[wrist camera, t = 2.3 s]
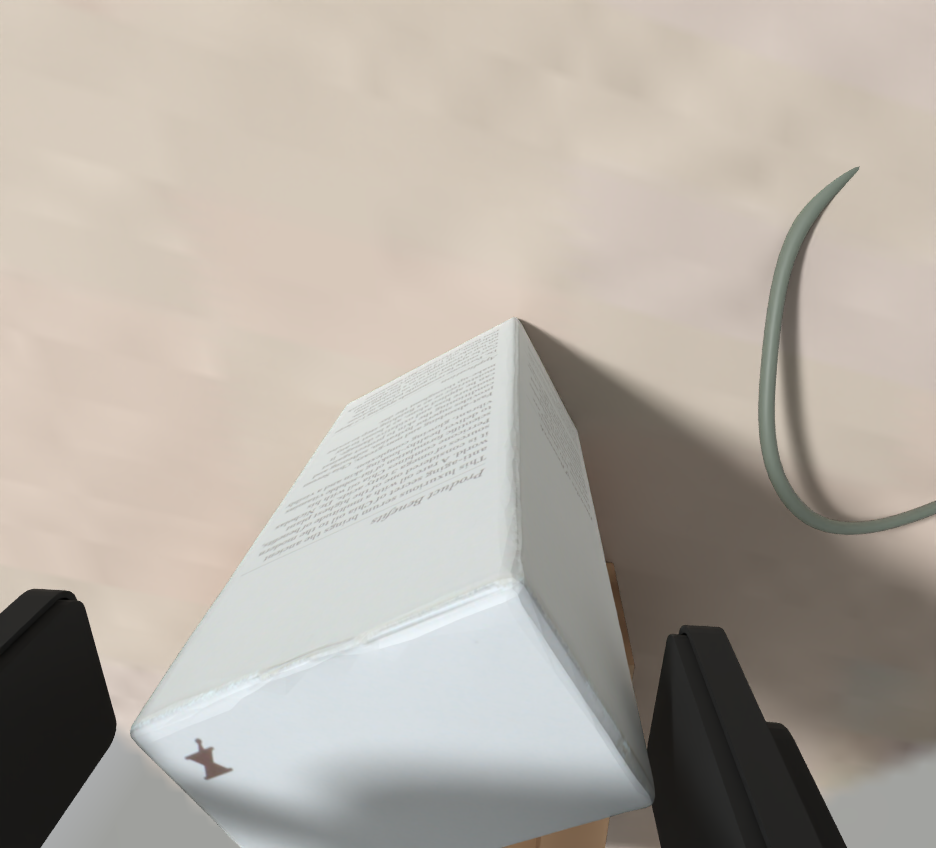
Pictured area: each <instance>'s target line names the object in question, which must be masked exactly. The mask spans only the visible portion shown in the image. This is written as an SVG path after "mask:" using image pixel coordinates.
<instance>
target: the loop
mask: <svg viewBox="0 0 936 848" xmlns="http://www.w3.org/2000/svg"><path fill="white" fill-rule="evenodd" d="M859 167H860V166H859ZM859 167H856V168H853V169H851V170H850V171H848V172H846V173H844V174H843V175H841V176H840V177H838V178H837V179H836V180H834V181H833V182H831V183H830V184H829V185H828V186H826V187H825V188H824V189H823V190H821V191H820V192H819V193H818V194H817V195H816V196H815V197H814V198H813V199H812V200H811V201H810V202H809V203H808V204H807V205H806V206H805V207H804V209H803V210H802V211H801V212H800V214H799V215H798V216H797V218H796V219H795V221H794V222H793V224H792V226H791V228H790V230H789V232H788V234H787V236H786V239H785V241H784V244H783V246H782V249H781V252H780V254H779V258H778V261H777V265H776V268H775V272H774V276H773V281H772V285H771V290H770V296H769V302H768V308H767V315H766V322H765V330H764V339H763V348H762V358H761V369H760V383H759V402H758V421H759V436H760V444H761V451H762V455H763V460H764V464H765V467H766V470H767V473H768V476H769V479H770V481H771V483H772V485H773V487H774V489H775V491H776V493H777V494H778V496H779V498H780V499H781V501H782V502H783V503H784V504H785V506H786V507H787V508H788V509H789V510H790V511H791V512H792V513H793V514H794V515H795V516H796V517H797V518H798V519H800V520H801V521H802V522H804V523H805V524H807V525H809V526H811V527H813V528H815V529H818V530H821V531H824V532H828V533H833V534H844V535H854V534H866V533H874V532H879V531H884V530H888V529H892V528H896V527H899V526H903V525H906V524H909V523H912V522H915V521H918V520H921V519H924V518H926V517H929V516H931V515H934V514H936V501H934V502H931V503H929V504H926V505H924V506H921V507H918V508H916V509H913V510H910V511H907V512H904V513H901V514H897V515H894V516H890V517H886V518H882V519H877V520H871V521H863V522H843V521H836V520H831V519H828V518H825V517H823V516H821V515H819V514H817V513H815V512H814V511H812V510H811V509H810V508H808V507H807V506H806V505H805V504H804V503H803V502H802V501H801V500H800V498H799V497H798V496H797V494H796V493H795V492H794V490H793V488H792V487H791V485H790V484H789V482H788V479H787V477H786V475H785V473H784V470H783V467H782V464H781V461H780V457H779V452H778V448H777V440H776V432H775V386H776V372H777V360H778V349H779V340H780V331H781V323H782V315H783V309H784V303H785V297H786V292H787V288H788V283H789V279H790V275H791V272H792V268H793V265H794V262H795V259H796V257H797V254H798V252H799V249H800V247H801V244H802V242H803V241H804V239H805V237H806V235H807V233H808V231H809V229H810V228H811V226H812V225H813V223H814V222H815V220H816V219H817V217H818V216H819V214H820V213H821V212H822V210H823V209H824V208H825V207H826V206H827V204H828V203H829V202H830V201H831V200H832V199H833V197H834V196H835V195H836V194H837V193H838V192H839V191H840V190H841V189H842V188H843V187H844V186H845V184H846V183H847V182H848V181H849V180H850V179H851V178H852V177H853V176H854V174H855V173H856V172H857V171H858V170H859Z"/></svg>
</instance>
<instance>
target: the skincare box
mask: <svg viewBox="0 0 936 848" xmlns="http://www.w3.org/2000/svg"><path fill="white" fill-rule="evenodd" d="M130 734H131V737H132V739H133V740H134V741H135V742H136V744H137V745H138V746H139V747H140V748H141V749H142V750H143V751H144V752H145V753H146V754H147V755H148V756H149V757H150V758H151V759H152V760H153V761H154V762H155V763H156V764H157V765H158V766H159V767H160V768H161V769H162V770H163V771H164V772H165V773H166V774H167V775H168V776H169V777H170V778H171V779H173V780H174V781H175V782H176V783H177V784H178V785H179V786H180V787H181V788H182V789H183V790H184V791H185V792H186V793H187V794H188V795H189V796H190V797H191V798H192V799H193V800H194V801H195V802H196V803H197V804H198V805H199V806H200V807H201V808H202V809H203V810H204V811H205V812H206V813H207V814H208V815H209V816H210V817H211V818H212V819H213V820H214V821H215V822H216V823H217V825H219V827H220V828H221V829H222V830H223V831H224V832H225V833H226V834H227V835H228V836H229V837H230V838H231V839H232V840H233V841H234V842H235V843H236V844H237V845H238V846H239V847H240V848H502V847H506V846H509V845H513V844H516V843H519V842H523V841H526V840H530V839H534V838H537V837H541V836H544V835H548V834H551V833H554V832H558V831H561V830H564V829H568V828H572V827H575V826H579V825H583V824H586V823H590V822H594V821H597V820H601V819H605V818H608V817H611V816H614V815H618V814H621V813H624V812H629V811H633V810H638V809H642V808H646V807H648V806H650V805H652V803H653V802H654V799H655V789H654V782H653V776H652V772H651V767H650V763H649V758H648V754H647V749H646V744H645V740H644V735H643V730H642V726H641V721H640V717H639V712H638V708H637V703H636V699H635V694H634V690H633V685H632V681H631V676H630V672H629V667H628V662H627V658H626V653H625V648H624V643H623V638H622V633H621V629H620V626H619V621H618V616H617V611H616V607H615V602H614V598H613V594H612V589H611V584H610V580H609V575H608V571H607V567H606V562H605V557H604V552H603V547H602V543H601V538H600V533H599V529H598V524H597V519H596V515H595V510H594V505H593V501H592V496H591V492H590V487H589V482H588V478H587V473H586V469H585V464H584V459H583V454H582V450H581V445H580V441H579V436H578V431H577V429H576V428H575V426H574V423H573V422H572V420H571V418H570V416H569V415H568V413H567V411H566V409H565V407H564V405H563V403H562V401H561V399H560V397H559V395H558V393H557V391H556V389H555V387H554V385H553V383H552V381H551V379H550V378H549V376H548V374H547V372H546V370H545V368H544V366H543V364H542V362H541V360H540V358H539V356H538V354H537V352H536V350H535V348H534V347H533V345H532V343H531V341H530V339H529V337H528V335H527V333H526V331H525V329H524V328H523V326H522V324H521V322H520V321H519V320H518V319H517V318H515V317H513V318H510V319H509V320H507V321H505V322H503V323H501V324H499V325H497V326H495V327H494V328H492V329H490V330H488V331H486V332H484V333H482V334H480V335H478V336H476V337H474V338H472V339H471V340H469V341H467V342H465V343H463V344H461V345H459V346H457V347H455V348H453V349H451V350H450V351H448V352H446V353H444V354H442V355H440V356H438V357H436V358H434V359H432V360H430V361H428V362H427V363H425V364H423V365H421V366H419V367H417V368H415V369H413V370H411V371H410V372H408V373H406V374H404V375H402V376H400V377H398V378H396V379H394V380H392V381H391V382H389V383H387V384H385V385H383V386H381V387H379V388H377V389H375V390H374V391H372V392H370V393H368V394H366V395H364V396H362V397H360V398H359V399H357V400H354V401H352V402H350V403H349V404H347V406H346V407H345V409H344V410H343V411H342V413H341V414H340V416H339V417H338V419H337V420H336V422H335V423H334V425H333V426H332V428H331V429H330V431H329V432H328V434H327V435H326V436H325V438H324V439H323V441H322V442H321V444H320V445H319V447H318V448H317V450H316V452H315V453H314V454H313V456H312V457H311V459H310V460H309V462H308V463H307V465H306V466H305V468H304V470H303V471H302V472H301V474H300V475H299V477H298V478H297V480H296V481H295V483H294V485H293V486H292V488H291V489H290V490H289V492H288V493H287V495H286V496H285V498H284V499H283V501H282V502H281V504H280V505H279V507H278V508H277V509H276V511H275V513H274V514H273V516H272V517H271V519H270V520H269V522H268V523H267V524H266V526H265V527H264V529H263V530H262V532H261V533H260V535H259V536H258V537H257V539H256V540H255V542H254V544H253V545H252V547H251V548H250V550H249V551H248V553H247V554H246V555H245V557H244V559H243V560H242V562H241V563H240V564H239V566H238V567H237V569H236V570H235V572H234V573H233V575H232V576H231V578H230V580H229V581H228V583H227V584H226V585H225V587H224V588H223V590H222V591H221V593H220V594H219V596H218V597H217V598H216V600H215V601H214V603H213V604H212V606H211V607H210V609H209V610H208V612H207V613H206V614H205V616H204V617H203V619H202V620H201V622H200V623H199V625H198V626H197V628H196V629H195V630H194V632H193V633H192V635H191V636H190V638H189V639H188V641H187V642H186V644H185V645H184V647H183V648H182V650H181V651H180V653H179V654H178V656H177V657H176V659H175V660H174V662H173V663H172V665H171V666H170V668H169V669H168V671H167V672H166V674H165V675H164V677H163V678H162V680H161V682H160V683H159V685H158V686H157V688H156V689H155V691H154V692H153V694H152V695H151V697H150V698H149V700H148V701H147V703H146V704H145V706H144V707H143V709H142V710H141V712H140V714H139V715H138V717H137V718H136V720H135V722H134V723H133V725H132V727H131V731H130Z"/></svg>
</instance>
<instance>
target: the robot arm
mask: <svg viewBox="0 0 936 848" xmlns="http://www.w3.org/2000/svg"><path fill="white" fill-rule="evenodd" d="M115 732H116V718H115V715H114V711H113V707H112V704H111V700H110V697H109V693H108V689H107V686H106V682H105V678H104V675H103V671H102V668H101V664H100V660H99V657H98V653H97V650H96V646H95V642H94V639H93V635H92V631H91V628H90V624H89V621H88V617H87V613H86V610H85V607H84V605H83V603H82V602H80V601H77V599H76V597H75V595H74V594H73V593H72V592H70V591H65V590H47V589H31V590H28V591H26V592H25V593H23V594H22V595H21V596H19V597H18V598H17V599H16V600H15V601H14V602H13V603H12V604H10V605H9V606H8V607H7V608H6V609H5V610H4V611H3V612H1V613H0V848H41V846H42V845H43V843H44V842H45V840H46V839H47V837H48V836H49V834H50V833H51V831H52V830H53V829H54V827H55V826H56V824H57V823H58V821H59V820H60V818H61V817H62V815H63V814H64V812H65V811H66V810H67V808H68V806H69V805H70V804H71V802H72V801H73V799H74V798H75V796H76V795H77V793H78V792H79V791H80V789H81V788H82V786H83V785H84V783H85V782H86V780H87V779H88V777H89V776H90V774H91V773H92V772H93V770H94V769H95V767H96V766H97V764H98V763H99V761H100V760H101V758H102V757H103V755H104V754H105V753H106V751H107V750H108V748H109V747H110V745H111V743H112V741H113V738H114V736H115ZM647 754H648V758H649V763H650V767H651V772H652V776H653V782H654V789H655V799H654V802H653V803H652V808H653V812H654V817H655V821H656V826H657V831H658V835H659V840H660V844H661V848H847V847H846V845H845V843H844V841H843V838H842V836H841V835H840V833H839V830H838V828H837V826H836V824H835V822H834V820H833V818H832V816H831V814H830V812H829V810H828V808H827V806H826V804H825V802H824V800H823V798H822V796H821V794H820V791H819V789H818V787H817V785H816V783H815V781H814V779H813V777H812V775H811V773H810V771H809V769H808V767H807V765H806V763H805V761H804V759H803V757H802V755H801V753H800V751H799V749H798V747H797V745H796V743H795V740H794V739H793V737H792V735H791V734H790V732H789V731H788V729H787V728H786V727H785V726H784V725H782V724H781V723H774V722H766V721H765V719H764V717H763V715H762V713H761V710H760V708H759V706H758V704H757V702H756V699H755V697H754V695H753V693H752V691H751V688H750V686H749V684H748V682H747V680H746V677H745V675H744V673H743V671H742V669H741V666H740V664H739V662H738V660H737V658H736V655H735V653H734V651H733V649H732V647H731V644H730V642H729V640H728V638H727V636H726V634H725V632H724V630H723V629H722V628H720V627H708V626H690V625H683V626H682V627H681V628H680V631H679V635H676V634H670V635H669V636H668V638H667V642H666V647H665V653H664V658H663V664H662V669H661V675H660V680H659V686H658V691H657V697H656V702H655V708H654V713H653V719H652V724H651V730H650V736H649V741H648V747H647Z"/></svg>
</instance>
